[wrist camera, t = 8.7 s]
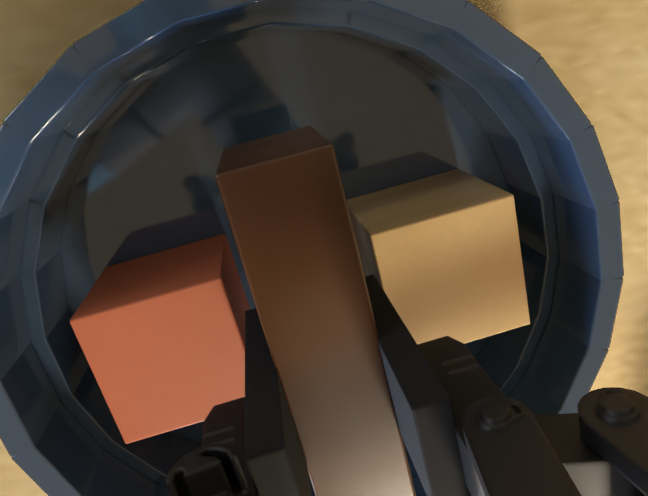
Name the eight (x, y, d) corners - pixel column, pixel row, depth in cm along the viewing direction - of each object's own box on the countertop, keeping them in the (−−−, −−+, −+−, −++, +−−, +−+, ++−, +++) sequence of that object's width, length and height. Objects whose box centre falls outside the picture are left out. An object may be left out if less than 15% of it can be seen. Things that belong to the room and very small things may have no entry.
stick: (222, 148, 15) (213, 174, 11) (311, 124, 15) (333, 143, 11) (326, 490, 19) (346, 596, 15) (396, 469, 19) (433, 569, 15)
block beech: (343, 199, 20) (370, 235, 16) (458, 168, 21) (514, 193, 16) (369, 306, 22) (399, 363, 18) (476, 275, 22) (531, 324, 18)
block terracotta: (105, 266, 20) (68, 320, 16) (225, 232, 20) (221, 277, 16) (148, 370, 21) (124, 445, 17) (260, 337, 22) (264, 404, 17)
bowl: (-71, 75, 18) (-201, 79, 13) (501, -72, 19) (600, -124, 14) (142, 524, 24) (115, 648, 19) (557, 398, 25) (637, 483, 20)
